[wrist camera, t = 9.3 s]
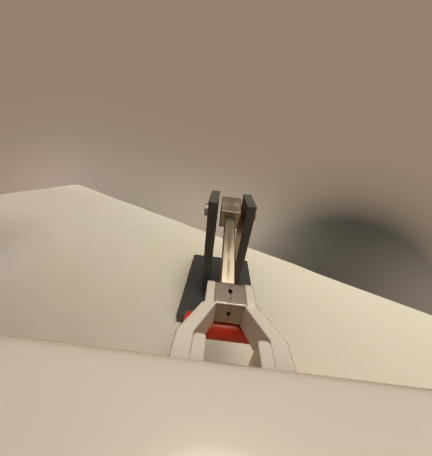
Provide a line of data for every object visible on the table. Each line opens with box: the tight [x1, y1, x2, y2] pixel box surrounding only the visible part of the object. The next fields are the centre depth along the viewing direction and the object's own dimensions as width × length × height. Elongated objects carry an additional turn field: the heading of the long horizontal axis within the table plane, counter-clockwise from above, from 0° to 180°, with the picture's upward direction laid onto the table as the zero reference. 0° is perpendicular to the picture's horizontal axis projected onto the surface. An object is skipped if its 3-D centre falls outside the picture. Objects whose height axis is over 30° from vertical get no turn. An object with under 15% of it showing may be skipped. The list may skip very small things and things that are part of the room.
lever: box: [183, 197, 249, 344], centre depth 15 cm, size 14×5×2 cm, turn 177°
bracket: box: [177, 191, 257, 322], centre depth 21 cm, size 12×10×15 cm
